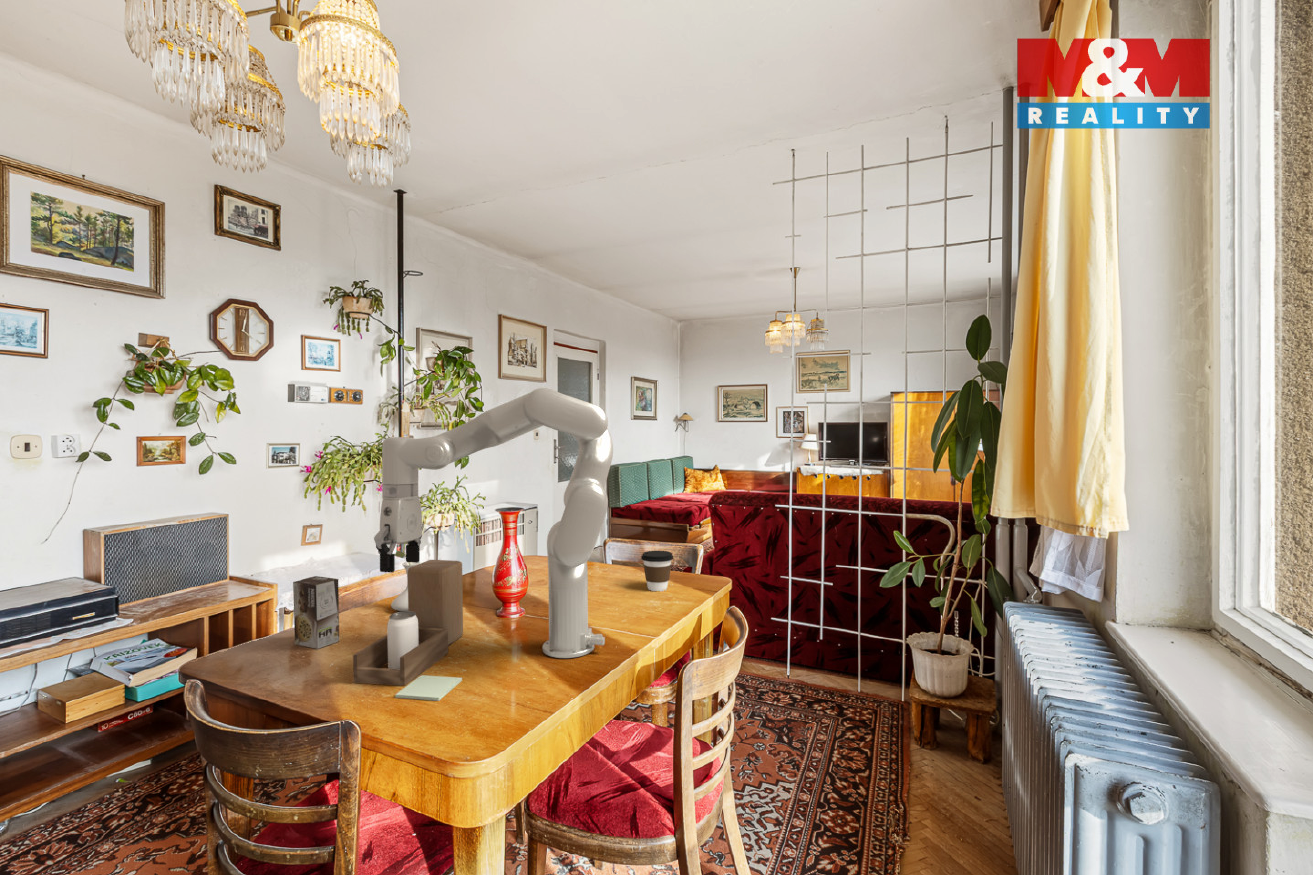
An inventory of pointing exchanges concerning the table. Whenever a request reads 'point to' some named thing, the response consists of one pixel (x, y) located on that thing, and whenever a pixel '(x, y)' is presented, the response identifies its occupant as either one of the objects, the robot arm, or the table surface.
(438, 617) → the block
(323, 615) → the coffee box
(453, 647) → the table surface
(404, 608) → the flower in vase
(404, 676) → the walnut box
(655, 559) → the coffee cup
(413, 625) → the can
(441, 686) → the sage mat
